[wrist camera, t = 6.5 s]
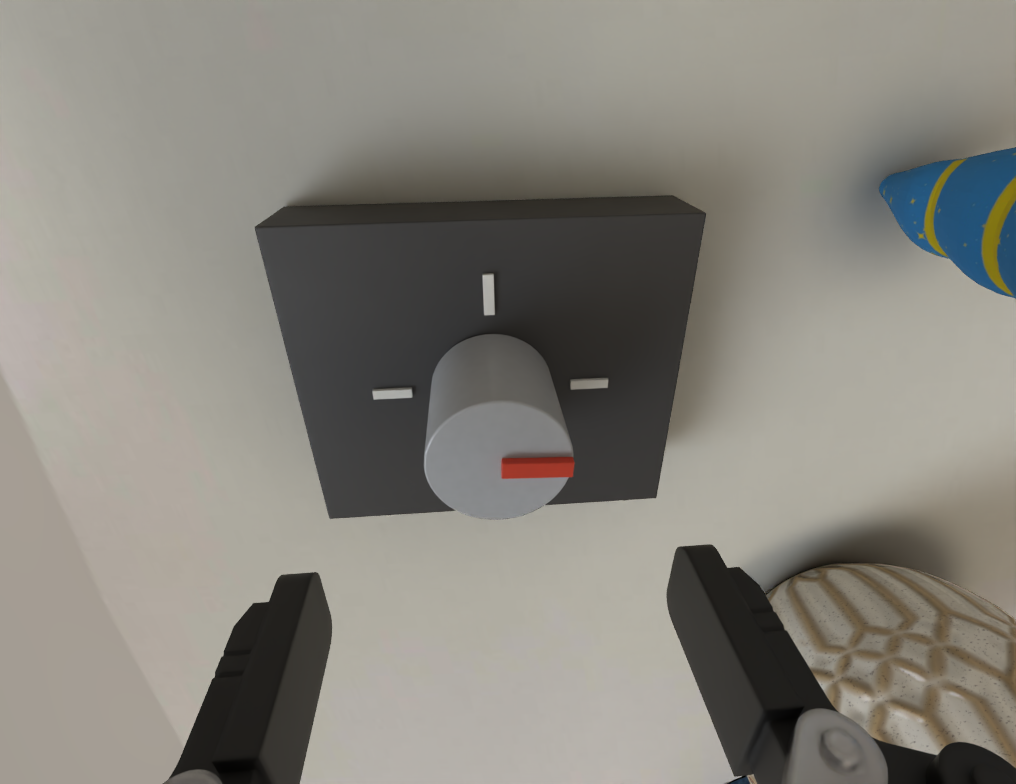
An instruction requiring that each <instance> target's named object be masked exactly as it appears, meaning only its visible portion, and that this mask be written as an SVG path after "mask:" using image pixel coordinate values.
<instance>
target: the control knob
mask: <svg viewBox="0 0 1016 784" xmlns="http://www.w3.org/2000/svg"><path fill="white" fill-rule="evenodd" d="M574 464H575V462H574V459H573V447H572V443H571V440H570V437H569V433H568V430H567V427H566V424H565V420H564V417H563V414H562V410H561V407H560V404H559V401H558V397H557V394H556V391H555V387H554V384H553V381H552V378H551V374H550V371H549V368H548V366H547V364H546V362H545V360H544V359H543V357H542V356H541V355H540V354H539V353H538V351H537V350H535V349H534V348H533V347H532V346H530V345H529V344H527V343H526V342H524V341H522V340H520V339H517V338H514V337H511V336H507V335H502V334H484V335H479V336H475V337H472V338H469V339H466V340H464V341H462V342H460V343H458V344H457V345H455V346H454V347H452V348H451V349H450V350H449V351H448V352H447V353H446V354H445V355H444V356H443V357H442V358H441V360H440V361H439V363H438V365H437V366H436V368H435V371H434V374H433V377H432V383H431V393H430V403H429V413H428V423H427V432H426V442H425V452H424V470H425V475H426V478H427V481H428V483H429V485H430V487H431V488H432V490H433V491H434V493H435V494H436V495H437V496H438V497H439V498H440V499H441V501H443V502H444V503H445V504H446V505H448V506H449V507H451V508H453V509H454V510H456V511H458V512H460V513H463V514H465V515H468V516H471V517H476V518H481V519H496V520H498V519H509V518H514V517H518V516H522V515H525V514H528V513H530V512H533V511H535V510H537V509H539V508H541V507H542V506H544V505H545V504H547V503H548V502H549V501H551V500H552V499H553V498H554V497H555V496H556V495H557V494H558V493H559V492H560V491H561V489H562V488H563V487H564V485H565V484H566V482H567V480H568V478H569V477H573V472H574Z"/></svg>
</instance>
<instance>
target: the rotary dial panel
mask: <svg viewBox="0 0 1016 784" xmlns="http://www.w3.org/2000/svg"><path fill="white" fill-rule="evenodd" d="M705 217H706V213H705V212H703V211H701V210H699V209H697V208H695V207H693V206H692V205H690V204H688V203H686V202H684V201H682V200H680V199H678V198H677V197H675V196H642V197H607V198H572V199H537V200H502V201H468V202H433V203H398V204H363V205H328V206H294V207H283V208H281V209H280V210H279V211H277V212H276V213H274V214H273V215H271V216H270V217H269V218H267V219H266V220H264V221H263V222H261V223H260V224H258V225H257V226H256V227H255V231H256V235H257V239H258V243H259V246H260V250H261V254H262V258H263V262H264V266H265V270H266V274H267V278H268V281H269V285H270V289H271V293H272V297H273V301H274V305H275V309H276V313H277V316H278V320H279V324H280V328H281V332H282V336H283V340H284V344H285V348H286V351H287V355H288V359H289V363H290V367H291V371H292V375H293V379H294V382H295V386H296V390H297V394H298V398H299V402H300V406H301V410H302V414H303V417H304V421H305V425H306V429H307V433H308V437H309V441H310V445H311V449H312V452H313V456H314V460H315V464H316V468H317V472H318V476H319V480H320V484H321V487H322V491H323V495H324V499H325V503H326V507H327V511H328V515H329V518H330V519H333V518H349V517H364V516H380V515H396V514H411V513H427V512H443V511H456V510H454V509H453V508H451V507H449V506H448V505H446V504H445V503H444V502H443V501H441V499H440V498H439V497H438V496H437V495H436V494H435V493H434V491H433V490H432V488H431V487H430V485H429V483H428V481H427V478H426V475H425V470H424V452H425V442H426V432H427V423H428V413H429V403H430V393H431V383H432V377H433V374H434V371H435V368H436V366H437V365H438V363H439V361H440V360H441V358H442V357H443V356H444V355H445V354H446V353H447V352H448V351H449V350H450V349H451V348H452V347H454V346H455V345H457V344H458V343H460V342H462V341H464V340H466V339H469V338H472V337H475V336H479V335H484V334H502V335H507V336H511V337H514V338H517V339H520V340H522V341H524V342H526V343H527V344H529V345H530V346H532V347H533V348H534V349H535V350H537V351H538V353H539V354H540V355H541V356H542V357H543V359H544V360H545V362H546V364H547V366H548V368H549V371H550V374H551V378H552V381H553V384H554V387H555V391H556V394H557V397H558V401H559V404H560V407H561V410H562V414H563V417H564V420H565V424H566V427H567V430H568V433H569V437H570V440H571V443H572V447H573V459H574V462H575V464H574V472H573V477H569V478H568V480H567V482H566V484H565V485H564V487H563V488H562V489H561V491H560V492H559V493H558V494H557V495H556V496H555V497H554V498H553V499H552V500H551V501H549V502H548V503H547V504H545V505H553V504H569V503H584V502H600V501H616V500H632V499H647V498H656V496H657V490H658V484H659V479H660V473H661V467H662V462H663V456H664V450H665V445H666V439H667V433H668V428H669V422H670V416H671V411H672V405H673V399H674V393H675V388H676V382H677V376H678V371H679V365H680V359H681V354H682V348H683V342H684V337H685V331H686V325H687V320H688V314H689V308H690V303H691V297H692V291H693V285H694V280H695V274H696V268H697V263H698V257H699V251H700V246H701V240H702V234H703V229H704V223H705Z"/></svg>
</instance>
